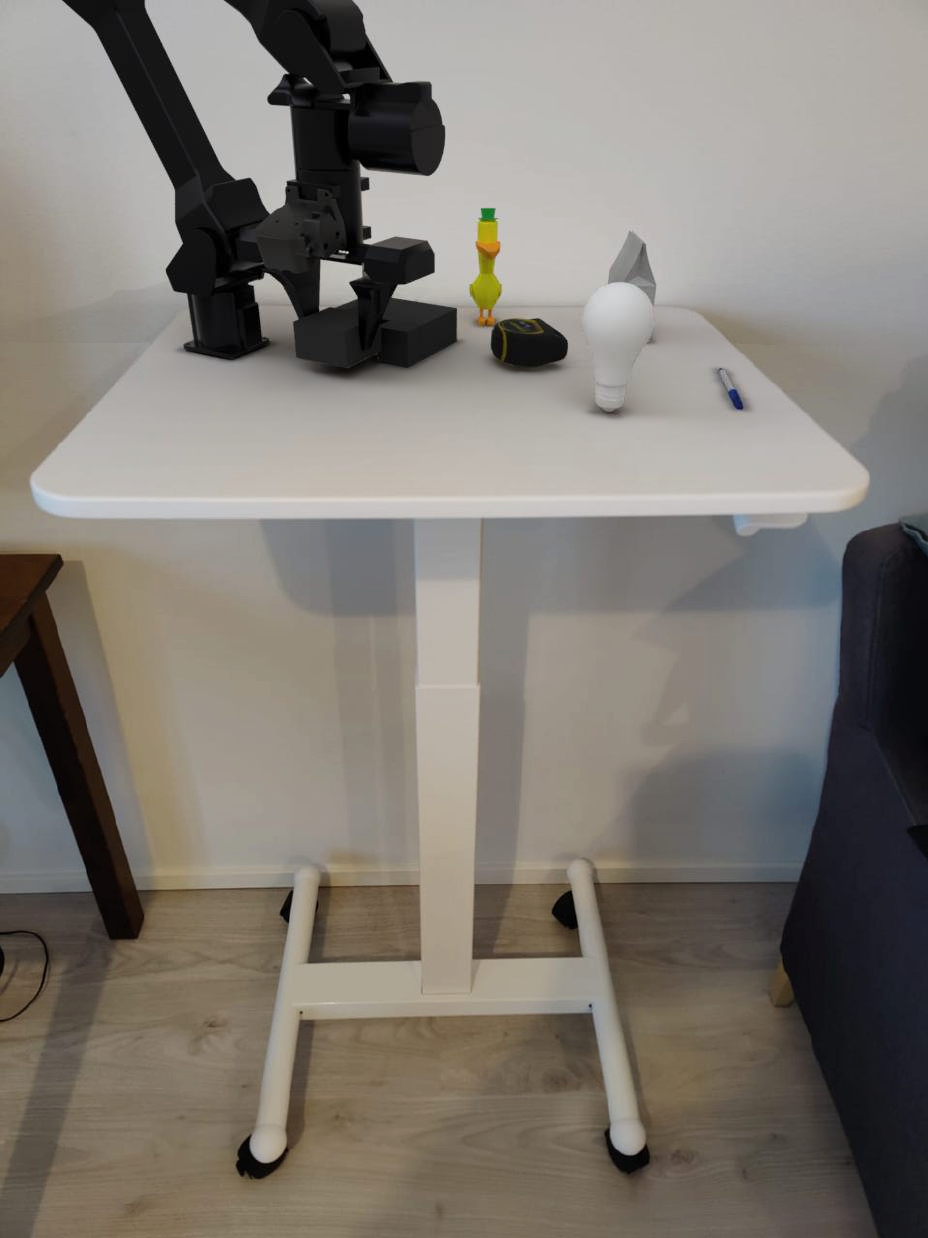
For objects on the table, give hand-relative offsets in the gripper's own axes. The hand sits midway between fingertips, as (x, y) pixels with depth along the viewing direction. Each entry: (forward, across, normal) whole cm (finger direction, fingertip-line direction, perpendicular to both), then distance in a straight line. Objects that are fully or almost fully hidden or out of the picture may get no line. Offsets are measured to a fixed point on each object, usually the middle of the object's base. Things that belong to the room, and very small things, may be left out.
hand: (338, 344), depth 89 cm
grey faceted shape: (+2, +20, +26) cm, 33 cm away
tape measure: (+3, +15, +12) cm, 19 cm away
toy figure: (+3, +5, +21) cm, 22 cm away
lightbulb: (+2, +27, +3) cm, 27 cm away
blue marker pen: (+3, +35, +14) cm, 38 cm away
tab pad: (+1, 0, +1) cm, 1 cm away
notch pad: (+2, 0, +9) cm, 9 cm away
